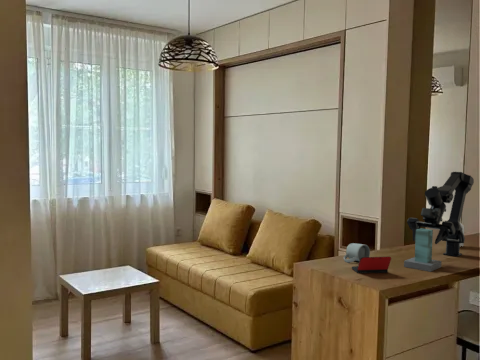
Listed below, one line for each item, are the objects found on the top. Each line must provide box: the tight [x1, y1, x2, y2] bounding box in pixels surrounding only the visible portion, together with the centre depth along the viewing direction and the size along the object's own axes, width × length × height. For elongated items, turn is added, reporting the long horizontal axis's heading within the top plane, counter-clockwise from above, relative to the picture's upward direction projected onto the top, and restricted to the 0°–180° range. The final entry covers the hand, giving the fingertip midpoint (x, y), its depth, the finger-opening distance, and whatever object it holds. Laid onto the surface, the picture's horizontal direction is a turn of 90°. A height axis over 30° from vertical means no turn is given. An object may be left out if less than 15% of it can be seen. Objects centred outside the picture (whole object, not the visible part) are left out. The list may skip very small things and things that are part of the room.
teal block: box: [414, 228, 434, 263], centre depth 191 cm, size 5×5×13 cm
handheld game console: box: [351, 256, 392, 274], centre depth 183 cm, size 12×11×7 cm
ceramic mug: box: [343, 242, 371, 264], centre depth 200 cm, size 11×8×8 cm
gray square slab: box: [403, 256, 442, 272], centre depth 191 cm, size 11×11×2 cm
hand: (424, 241), depth 191 cm, fingers open, 9 cm apart
